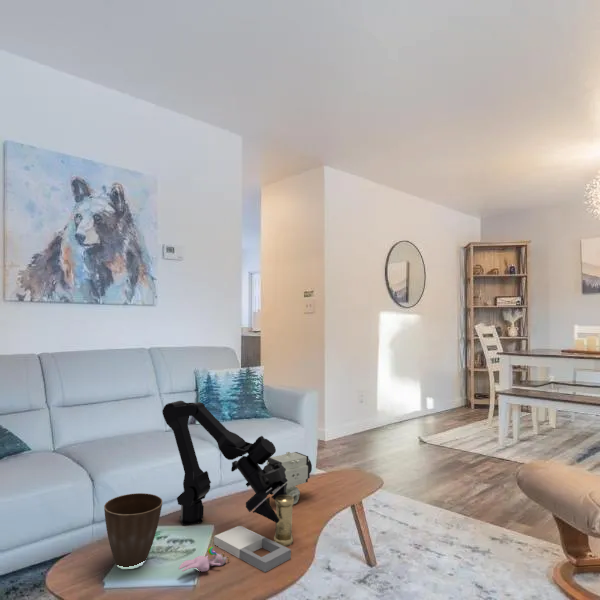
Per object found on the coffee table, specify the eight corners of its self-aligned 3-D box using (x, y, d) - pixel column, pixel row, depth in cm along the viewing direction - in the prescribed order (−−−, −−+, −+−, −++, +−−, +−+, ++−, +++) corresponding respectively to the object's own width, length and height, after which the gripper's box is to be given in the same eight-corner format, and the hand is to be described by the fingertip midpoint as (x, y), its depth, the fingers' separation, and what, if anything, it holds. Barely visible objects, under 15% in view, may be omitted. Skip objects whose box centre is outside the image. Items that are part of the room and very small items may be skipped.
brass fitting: (277, 547, 139) (279, 502, 139) (271, 539, 144) (272, 496, 144) (295, 544, 141) (296, 500, 141) (288, 536, 146) (289, 493, 146)
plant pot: (121, 546, 136) (123, 490, 137) (169, 552, 134) (171, 495, 134) (89, 574, 122) (92, 511, 122) (143, 581, 119) (145, 517, 120)
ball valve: (275, 511, 164) (277, 459, 165) (261, 503, 171) (262, 454, 171) (313, 499, 176) (315, 451, 176) (299, 492, 182) (300, 446, 183)
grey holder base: (213, 544, 139) (214, 535, 139) (239, 533, 147) (239, 525, 147) (265, 572, 125) (265, 562, 125) (290, 558, 133) (290, 549, 133)
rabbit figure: (218, 561, 133) (172, 572, 122) (222, 539, 134) (176, 547, 123) (232, 570, 128) (186, 582, 118) (236, 547, 129) (190, 556, 119)
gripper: (256, 466, 137) (290, 511, 132) (282, 449, 154) (313, 489, 149) (231, 489, 139) (264, 534, 135) (260, 470, 156) (290, 510, 152)
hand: (284, 516), depth 143 cm, fingers open, 9 cm apart
